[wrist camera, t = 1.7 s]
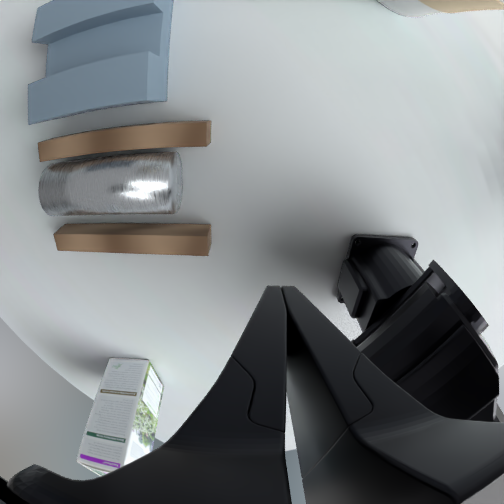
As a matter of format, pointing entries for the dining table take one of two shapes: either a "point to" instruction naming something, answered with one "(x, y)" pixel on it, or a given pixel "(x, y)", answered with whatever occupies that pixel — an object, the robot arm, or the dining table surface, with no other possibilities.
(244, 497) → the robot arm
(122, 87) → the v block
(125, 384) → the syrup box
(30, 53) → the dining table surface
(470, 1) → the coffee cup
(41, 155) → the guide channel
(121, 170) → the axle
